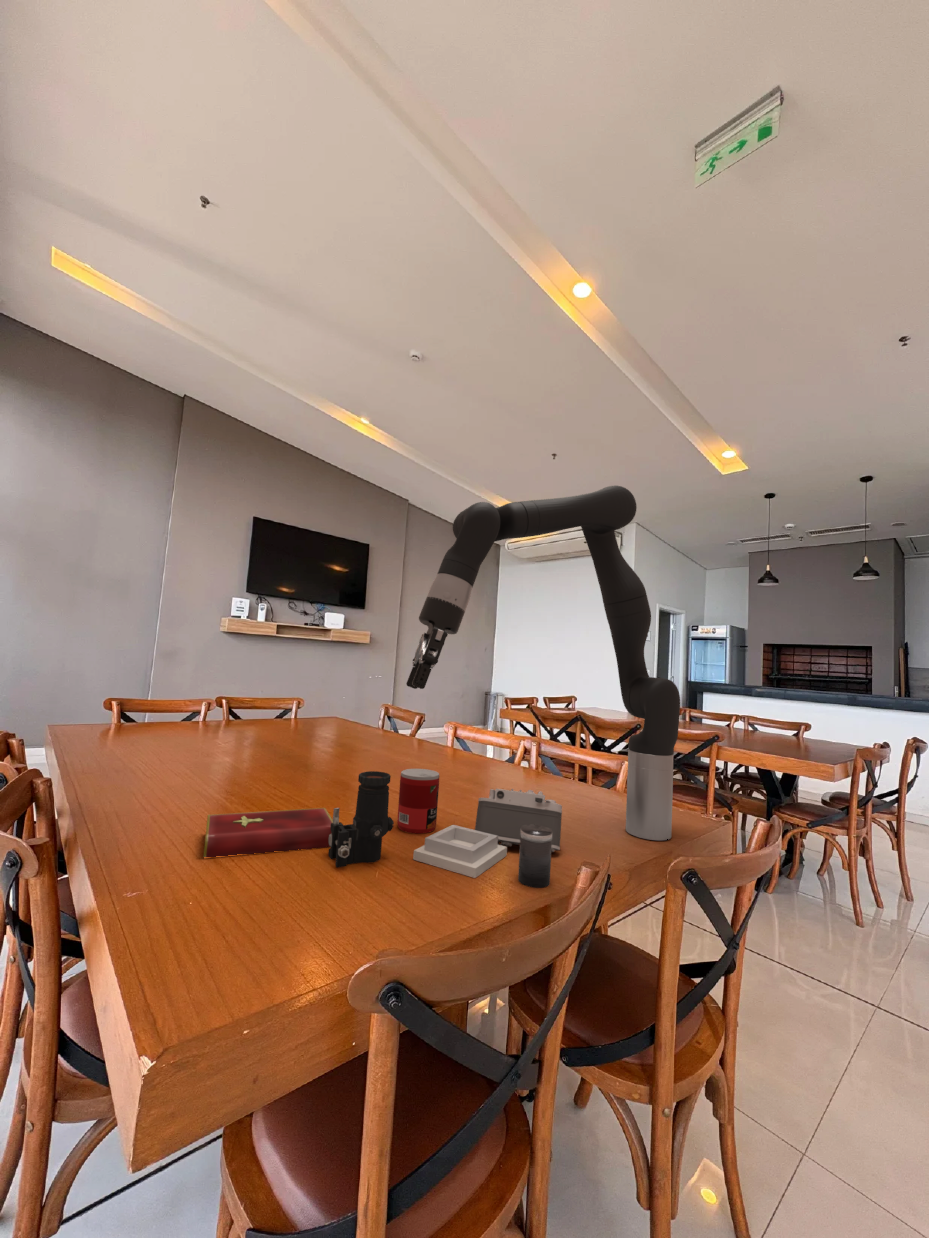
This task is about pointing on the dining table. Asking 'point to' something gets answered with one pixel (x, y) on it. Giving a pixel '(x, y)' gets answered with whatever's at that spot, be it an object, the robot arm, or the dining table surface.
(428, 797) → the canned food
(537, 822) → the camera
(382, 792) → the scope
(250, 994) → the dining table surface
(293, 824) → the hardcover book
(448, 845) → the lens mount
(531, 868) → the lens
